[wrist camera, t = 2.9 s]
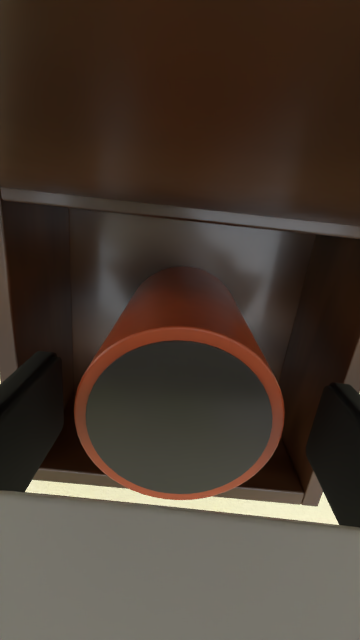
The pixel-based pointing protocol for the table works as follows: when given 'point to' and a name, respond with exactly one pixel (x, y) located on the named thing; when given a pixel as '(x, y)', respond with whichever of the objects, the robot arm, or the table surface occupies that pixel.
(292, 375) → the box
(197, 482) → the tin
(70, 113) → the lid
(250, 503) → the table surface
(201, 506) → the table surface
